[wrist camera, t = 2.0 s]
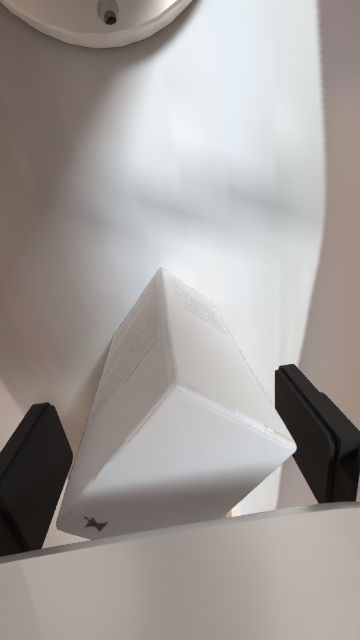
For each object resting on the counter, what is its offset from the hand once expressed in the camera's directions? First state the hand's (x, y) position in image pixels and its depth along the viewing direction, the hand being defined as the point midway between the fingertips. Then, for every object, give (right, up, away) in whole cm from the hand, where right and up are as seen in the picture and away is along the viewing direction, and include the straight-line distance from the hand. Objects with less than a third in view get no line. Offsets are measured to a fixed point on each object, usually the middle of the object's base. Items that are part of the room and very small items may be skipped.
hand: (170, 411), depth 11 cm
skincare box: (-1, +4, +7) cm, 8 cm away
